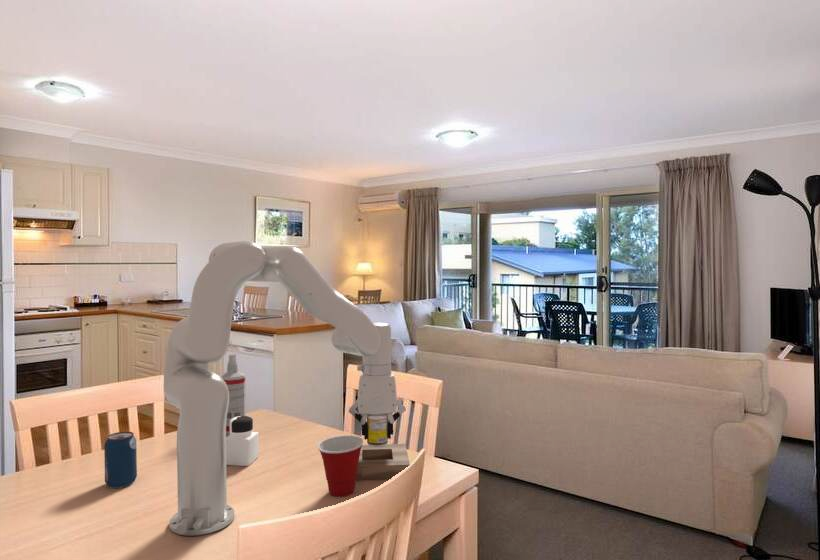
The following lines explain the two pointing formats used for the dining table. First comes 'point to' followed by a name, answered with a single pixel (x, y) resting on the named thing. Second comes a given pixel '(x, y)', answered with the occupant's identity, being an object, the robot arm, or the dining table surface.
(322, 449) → the plastic cup
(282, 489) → the dining table surface
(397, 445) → the square bottle holder
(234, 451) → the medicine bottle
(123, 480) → the soda can
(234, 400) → the spray bottle
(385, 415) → the supplement bottle
